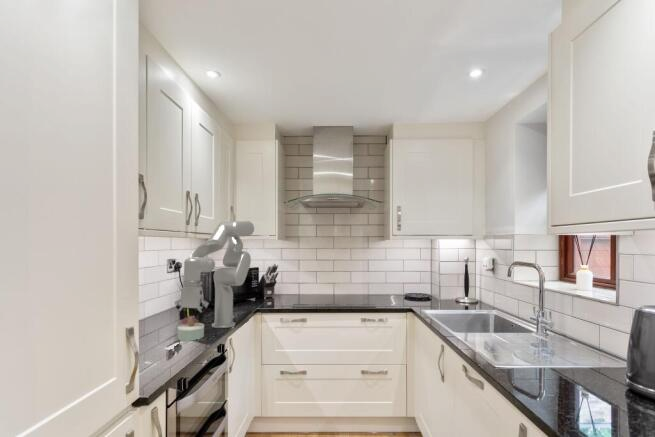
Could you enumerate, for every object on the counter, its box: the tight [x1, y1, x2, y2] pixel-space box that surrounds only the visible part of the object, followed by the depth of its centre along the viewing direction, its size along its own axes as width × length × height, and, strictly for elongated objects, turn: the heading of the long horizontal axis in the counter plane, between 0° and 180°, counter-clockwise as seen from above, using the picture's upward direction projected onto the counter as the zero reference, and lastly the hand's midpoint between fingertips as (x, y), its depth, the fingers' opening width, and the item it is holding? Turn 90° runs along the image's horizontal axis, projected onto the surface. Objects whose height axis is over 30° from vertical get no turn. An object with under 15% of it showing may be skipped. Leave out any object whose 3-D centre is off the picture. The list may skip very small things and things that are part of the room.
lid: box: [177, 315, 205, 331], centre depth 172 cm, size 12×12×5 cm
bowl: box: [177, 327, 205, 342], centre depth 172 cm, size 11×11×5 cm
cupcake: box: [180, 308, 199, 325], centre depth 186 cm, size 9×8×12 cm
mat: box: [163, 342, 180, 351], centre depth 158 cm, size 10×10×1 cm
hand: (191, 319), depth 173 cm, fingers open, 9 cm apart
